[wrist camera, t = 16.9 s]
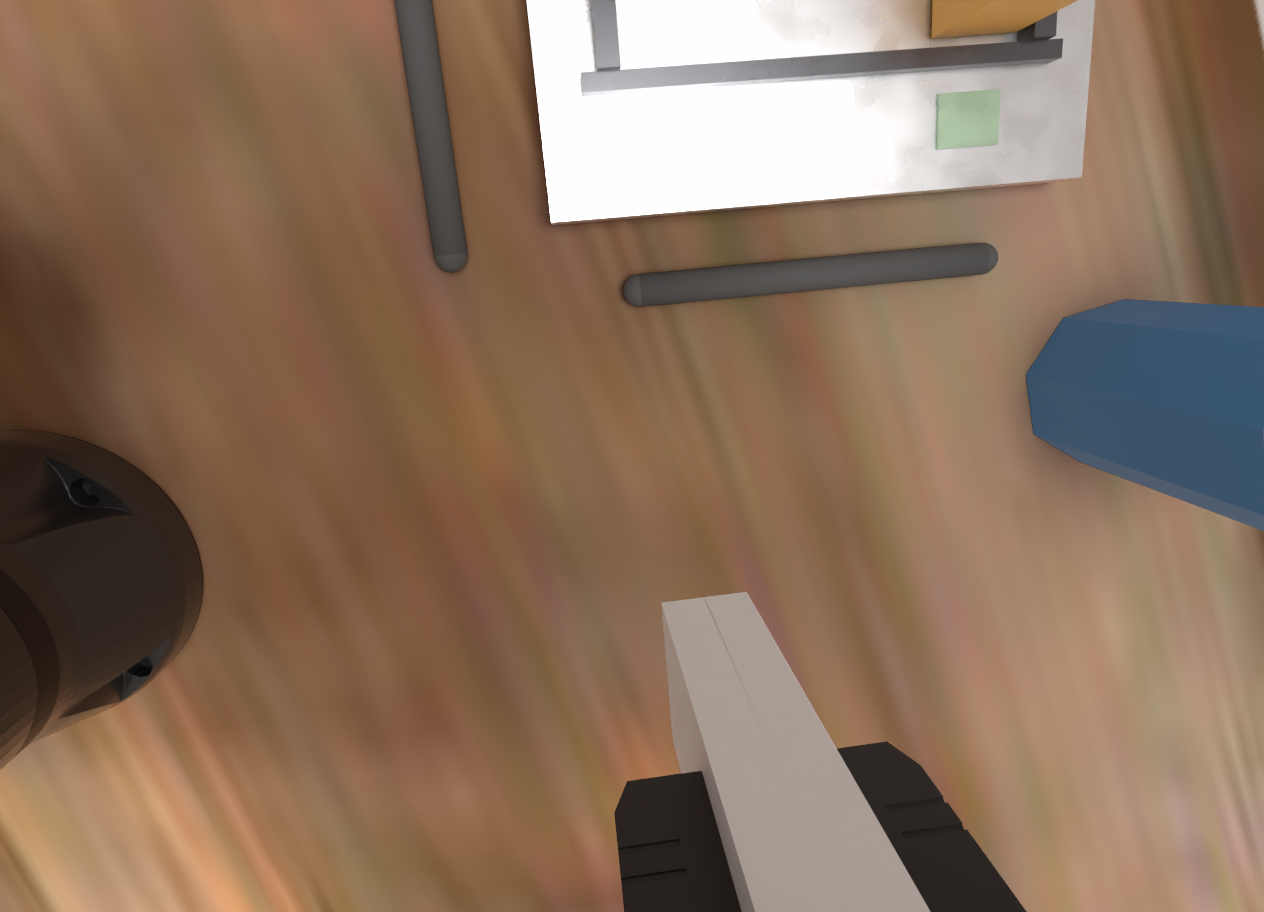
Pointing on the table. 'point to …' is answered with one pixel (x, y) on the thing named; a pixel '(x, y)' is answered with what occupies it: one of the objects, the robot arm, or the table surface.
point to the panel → (796, 103)
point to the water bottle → (1160, 399)
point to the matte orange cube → (989, 15)
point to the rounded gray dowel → (432, 132)
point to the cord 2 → (809, 274)
